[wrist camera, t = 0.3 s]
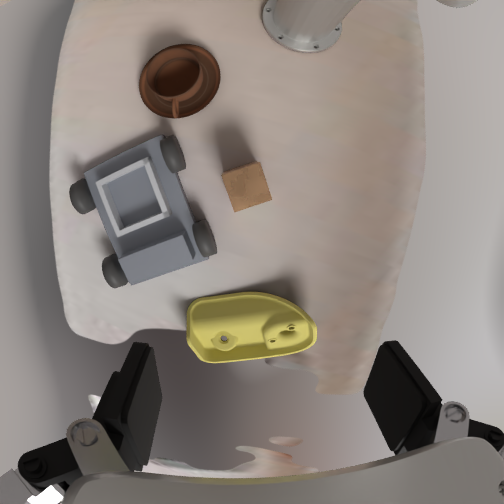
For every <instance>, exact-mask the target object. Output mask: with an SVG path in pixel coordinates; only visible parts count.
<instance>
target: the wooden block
mask: <svg viewBox="0 0 504 504" xmlns="http://www.w3.org/2000/svg"><path fill="white" fill-rule="evenodd" d="M221 176H222V179H223V181H224V184H225V187H226V190H227V193H228V195H229V198H230V201H231V204H232V207H233V209H234V212H237V211H240V210H243V209H246V208H249V207H252V206H255V205H258V204H261V203H264V202H267V201H270V200H272V197H271V194H270V191H269V188H268V185H267V182H266V179H265V176H264V173H263V170H262V167H261V164H260V162H257V161H255V162H251V163H248V164H245V165H242V166H239V167H236V168H234V169H231V170H228V171H225V172H223V173H222V175H221Z"/></svg>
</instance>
